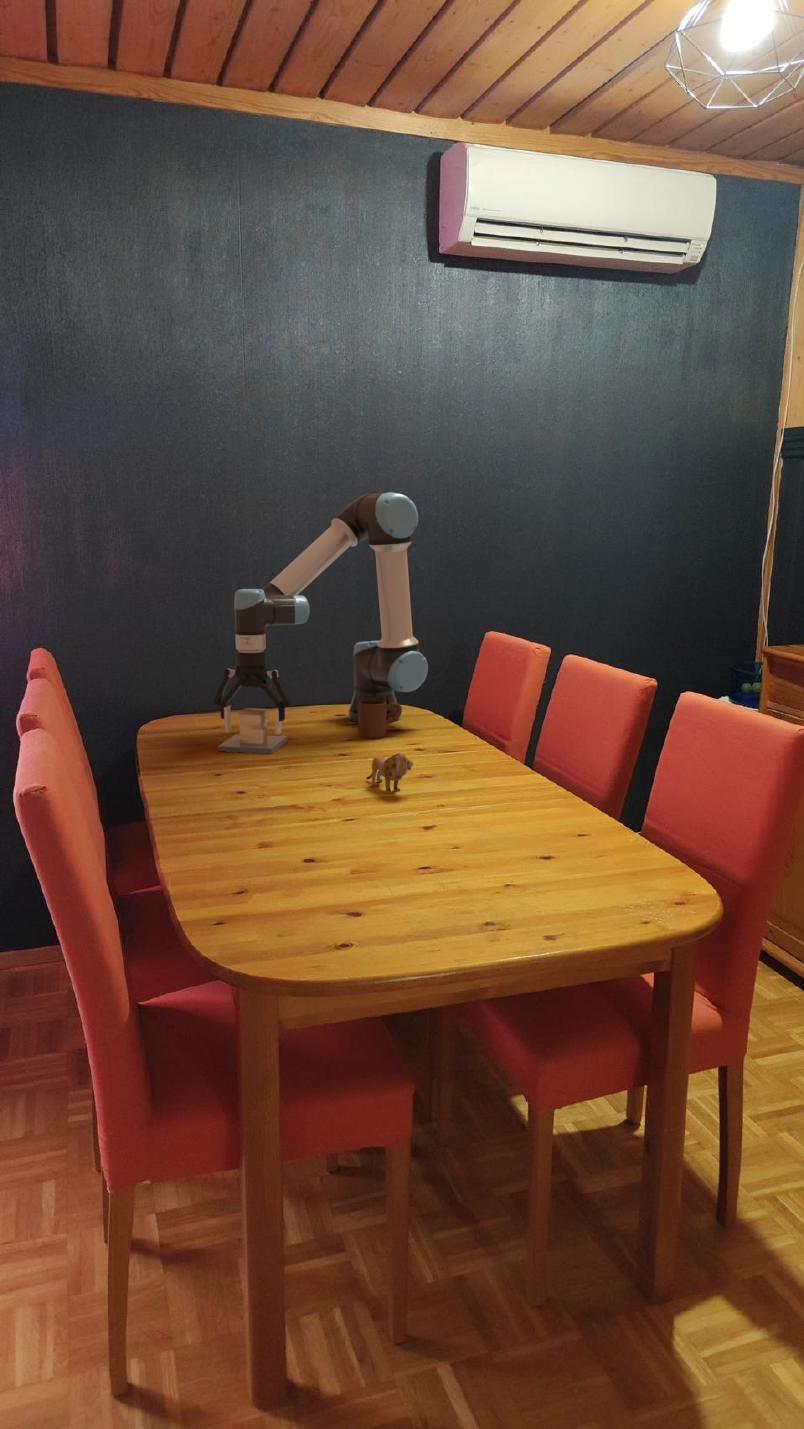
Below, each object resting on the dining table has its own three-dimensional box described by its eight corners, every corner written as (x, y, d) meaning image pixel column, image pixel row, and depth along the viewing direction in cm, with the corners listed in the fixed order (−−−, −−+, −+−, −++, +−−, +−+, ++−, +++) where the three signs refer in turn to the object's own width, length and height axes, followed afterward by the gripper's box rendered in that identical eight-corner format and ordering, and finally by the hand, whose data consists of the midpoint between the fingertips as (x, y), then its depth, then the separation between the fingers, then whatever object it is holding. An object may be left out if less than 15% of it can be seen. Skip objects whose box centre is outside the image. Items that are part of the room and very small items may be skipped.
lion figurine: (416, 793, 207) (416, 753, 206) (397, 798, 204) (397, 756, 202) (375, 779, 219) (375, 740, 217) (356, 783, 215) (356, 744, 214)
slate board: (236, 739, 257) (236, 734, 256) (287, 741, 255) (287, 736, 254) (218, 751, 243) (218, 746, 243) (271, 754, 241) (271, 748, 241)
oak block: (246, 738, 252) (245, 708, 250) (267, 739, 251) (266, 708, 249) (239, 743, 246) (238, 712, 245) (260, 744, 246) (260, 713, 244)
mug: (399, 731, 266) (399, 698, 265) (404, 737, 259) (405, 703, 257) (356, 733, 264) (356, 700, 262) (360, 739, 257) (360, 705, 255)
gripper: (198, 651, 242) (201, 733, 246) (294, 654, 238) (296, 737, 243) (209, 647, 249) (212, 727, 254) (302, 649, 245) (303, 731, 250)
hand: (253, 732), depth 248 cm, fingers open, 13 cm apart
